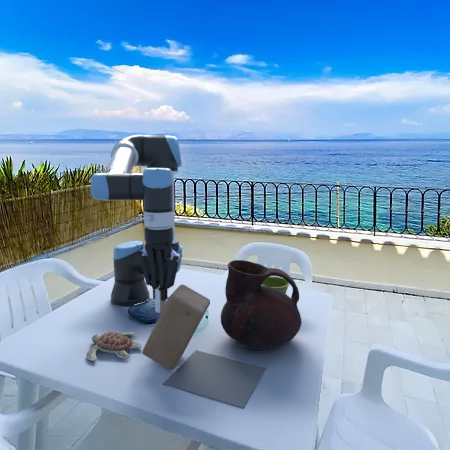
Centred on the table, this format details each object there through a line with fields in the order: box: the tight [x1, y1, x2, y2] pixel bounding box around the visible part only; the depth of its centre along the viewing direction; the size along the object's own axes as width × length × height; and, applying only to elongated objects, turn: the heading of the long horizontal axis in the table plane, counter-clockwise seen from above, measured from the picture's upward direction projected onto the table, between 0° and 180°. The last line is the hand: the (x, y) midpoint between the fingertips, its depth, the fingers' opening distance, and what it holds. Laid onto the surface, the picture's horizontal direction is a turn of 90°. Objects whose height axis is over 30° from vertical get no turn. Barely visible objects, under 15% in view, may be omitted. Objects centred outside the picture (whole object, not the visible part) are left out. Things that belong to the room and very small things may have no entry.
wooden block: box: [142, 284, 211, 371], centre depth 102 cm, size 10×10×20 cm
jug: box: [220, 259, 302, 350], centre depth 115 cm, size 25×25×25 cm
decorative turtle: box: [85, 331, 143, 362], centre depth 112 cm, size 18×17×5 cm
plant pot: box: [262, 276, 290, 295], centre depth 140 cm, size 12×12×11 cm
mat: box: [162, 349, 267, 409], centre depth 98 cm, size 18×22×1 cm
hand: (160, 310), depth 102 cm, fingers closed
